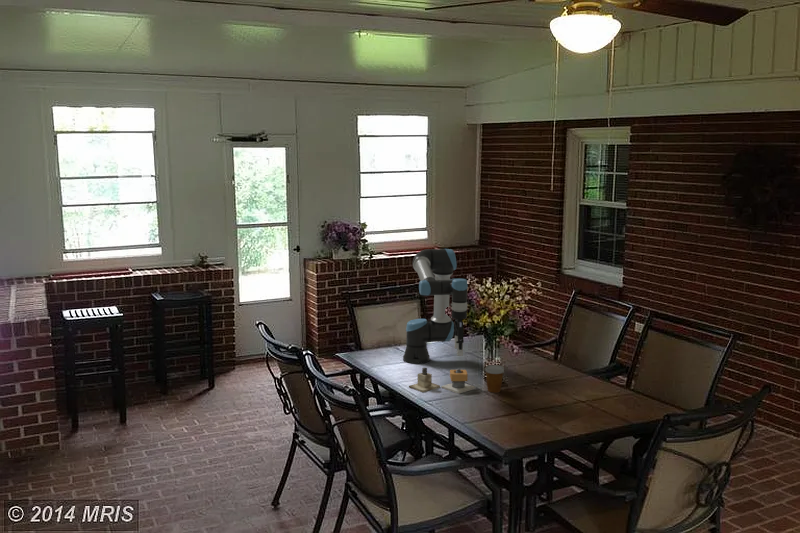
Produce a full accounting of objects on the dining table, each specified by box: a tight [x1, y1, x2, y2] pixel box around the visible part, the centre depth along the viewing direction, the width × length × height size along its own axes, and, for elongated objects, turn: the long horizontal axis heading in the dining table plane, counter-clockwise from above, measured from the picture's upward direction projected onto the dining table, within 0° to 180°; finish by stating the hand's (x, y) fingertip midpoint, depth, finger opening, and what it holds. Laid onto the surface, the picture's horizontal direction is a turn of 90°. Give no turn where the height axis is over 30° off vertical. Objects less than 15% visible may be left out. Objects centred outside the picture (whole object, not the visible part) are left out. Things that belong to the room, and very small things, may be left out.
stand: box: [408, 367, 441, 393], centre depth 368 cm, size 12×10×10 cm
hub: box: [440, 368, 476, 395], centre depth 367 cm, size 12×12×10 cm
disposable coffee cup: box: [484, 364, 505, 394], centre depth 364 cm, size 10×10×12 cm
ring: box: [449, 369, 469, 382], centre depth 367 cm, size 8×8×4 cm
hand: (458, 352), depth 366 cm, fingers open, 13 cm apart
